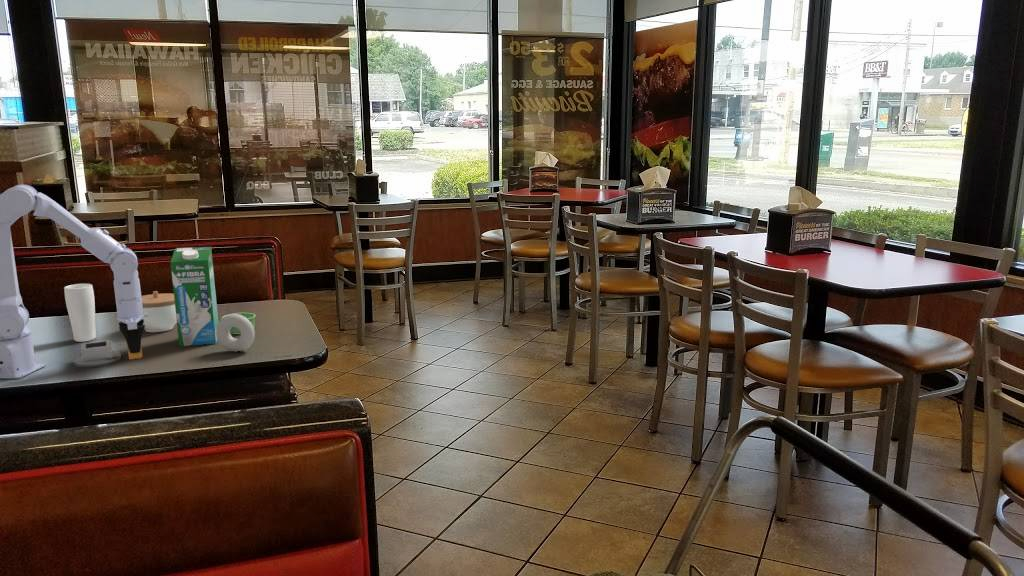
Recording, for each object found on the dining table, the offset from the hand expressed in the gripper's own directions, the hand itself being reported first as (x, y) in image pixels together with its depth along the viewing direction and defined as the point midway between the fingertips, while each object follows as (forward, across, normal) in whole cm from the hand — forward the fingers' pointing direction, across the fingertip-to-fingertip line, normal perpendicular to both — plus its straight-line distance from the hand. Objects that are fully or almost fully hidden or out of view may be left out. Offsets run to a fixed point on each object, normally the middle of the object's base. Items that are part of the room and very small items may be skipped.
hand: (134, 350), depth 185 cm
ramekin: (+2, +13, -27) cm, 30 cm away
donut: (+2, -8, -23) cm, 24 cm away
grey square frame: (+2, +1, +8) cm, 8 cm away
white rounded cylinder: (+2, +24, +11) cm, 27 cm away
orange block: (+2, 0, 0) cm, 2 cm away
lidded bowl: (+2, +26, -7) cm, 28 cm away
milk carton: (+2, +8, -16) cm, 18 cm away
